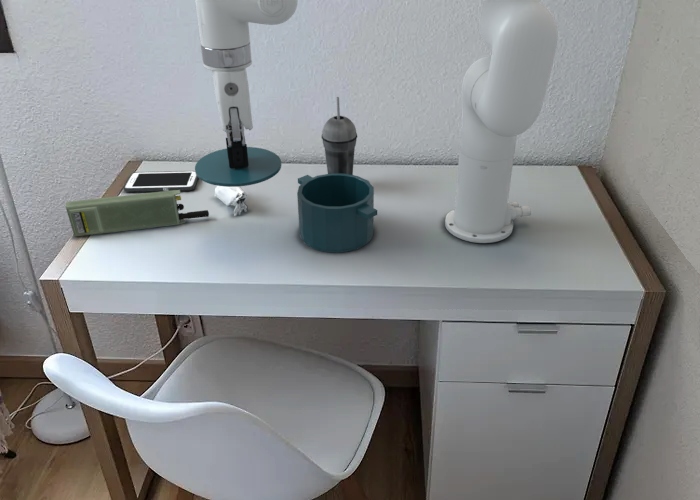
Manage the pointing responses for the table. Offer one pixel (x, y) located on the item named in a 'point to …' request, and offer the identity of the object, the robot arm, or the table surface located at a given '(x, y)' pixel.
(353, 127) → the beverage cup
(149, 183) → the cell phone
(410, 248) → the table surface
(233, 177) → the lid
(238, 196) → the white tied bag
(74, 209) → the handheld radio
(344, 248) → the teal cooking pot
